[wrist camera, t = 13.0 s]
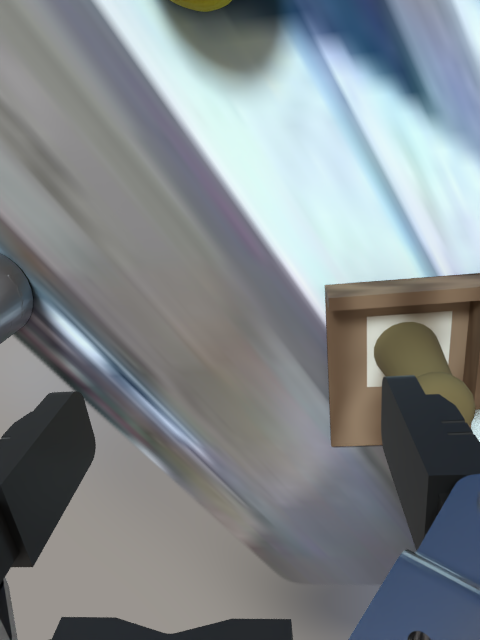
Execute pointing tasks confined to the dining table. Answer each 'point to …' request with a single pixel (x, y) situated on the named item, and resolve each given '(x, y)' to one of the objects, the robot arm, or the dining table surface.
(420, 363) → the olive double-lobed piece
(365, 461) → the dining table surface
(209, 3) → the lemon
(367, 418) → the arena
